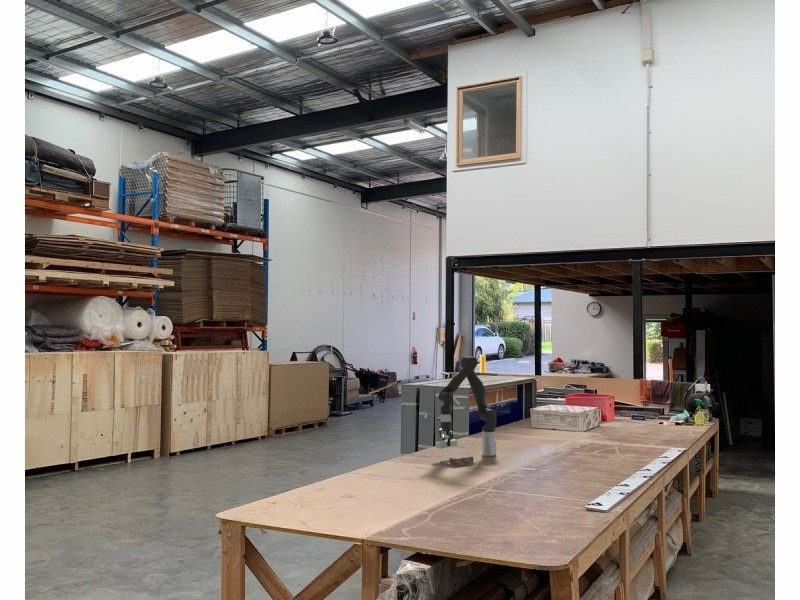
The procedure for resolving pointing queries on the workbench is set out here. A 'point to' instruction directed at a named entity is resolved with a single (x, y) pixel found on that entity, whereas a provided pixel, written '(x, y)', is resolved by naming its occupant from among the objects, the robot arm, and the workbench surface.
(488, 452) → the robot arm
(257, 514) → the workbench surface
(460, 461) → the walnut board
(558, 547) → the workbench surface
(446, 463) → the base
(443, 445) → the plank
